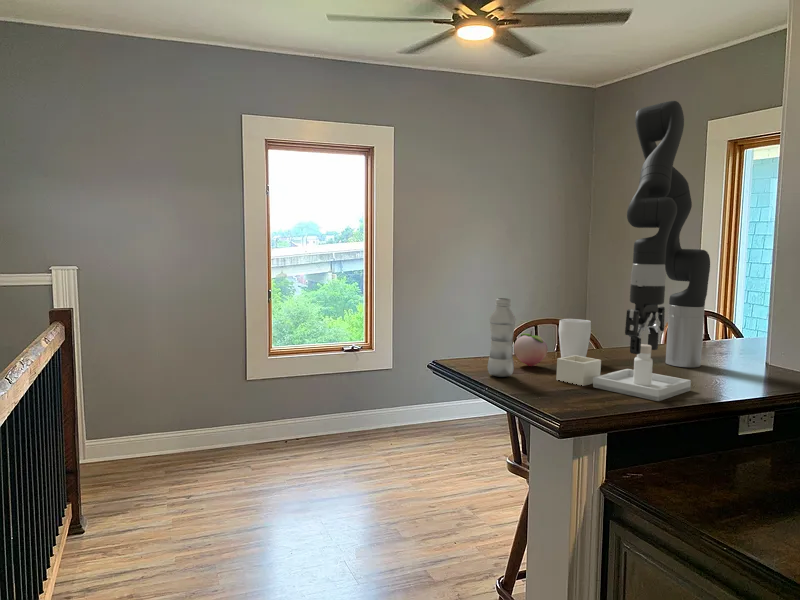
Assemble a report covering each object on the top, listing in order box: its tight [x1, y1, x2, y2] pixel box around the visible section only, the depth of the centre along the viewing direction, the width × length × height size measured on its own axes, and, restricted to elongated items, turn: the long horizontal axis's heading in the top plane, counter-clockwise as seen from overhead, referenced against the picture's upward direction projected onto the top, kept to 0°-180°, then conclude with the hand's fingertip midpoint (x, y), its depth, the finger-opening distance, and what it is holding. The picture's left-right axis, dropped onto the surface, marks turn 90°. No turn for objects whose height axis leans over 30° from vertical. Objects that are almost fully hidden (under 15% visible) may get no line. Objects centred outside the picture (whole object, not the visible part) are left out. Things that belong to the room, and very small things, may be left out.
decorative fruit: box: [513, 330, 549, 367], centre depth 166 cm, size 9×8×10 cm
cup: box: [558, 318, 592, 358], centre depth 175 cm, size 9×9×12 cm
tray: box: [592, 368, 692, 402], centre depth 143 cm, size 16×16×2 cm
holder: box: [555, 355, 602, 387], centre depth 150 cm, size 8×8×6 cm
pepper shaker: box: [633, 343, 654, 386], centre depth 142 cm, size 4×4×10 cm
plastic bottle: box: [487, 297, 517, 378], centre depth 153 cm, size 6×7×20 cm
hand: (643, 351), depth 142 cm, fingers open, 8 cm apart
